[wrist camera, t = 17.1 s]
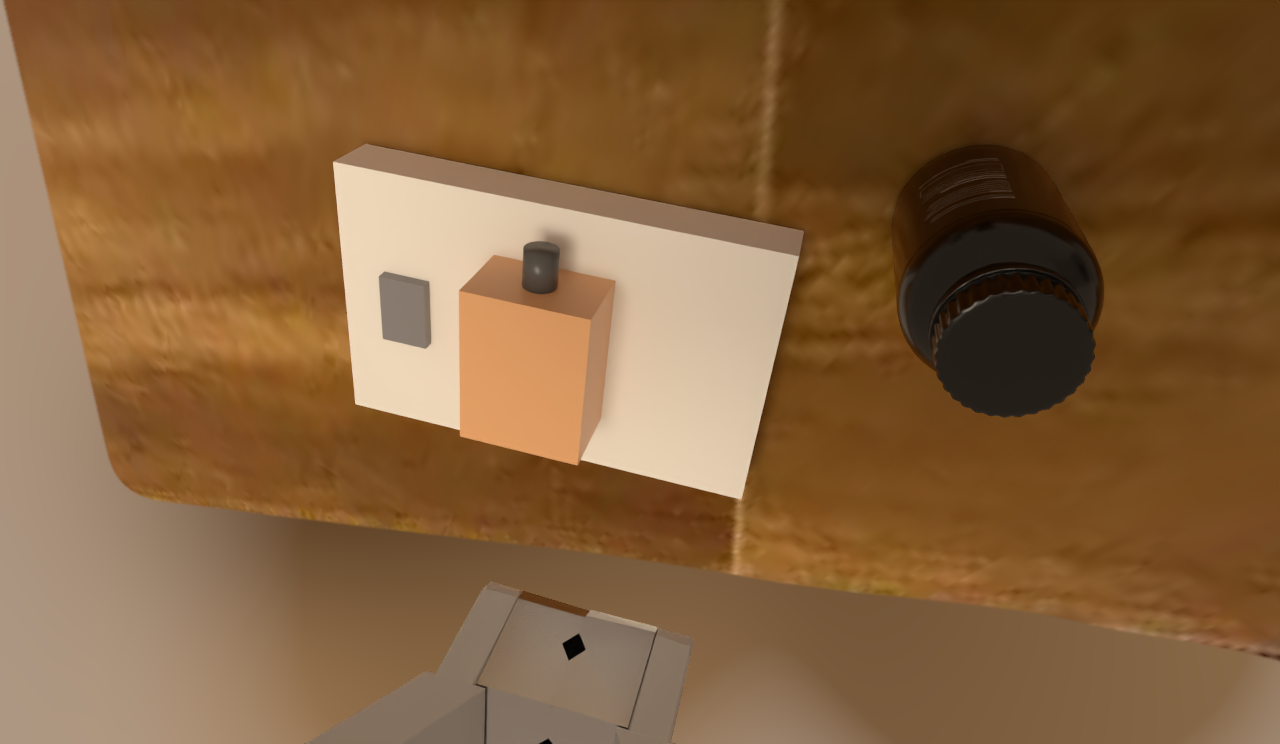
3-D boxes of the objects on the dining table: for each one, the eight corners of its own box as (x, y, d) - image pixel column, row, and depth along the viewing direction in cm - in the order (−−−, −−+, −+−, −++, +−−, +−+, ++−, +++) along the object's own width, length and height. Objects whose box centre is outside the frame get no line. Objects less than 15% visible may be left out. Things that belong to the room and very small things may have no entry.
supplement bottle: (872, 272, 38) (871, 414, 28) (919, 126, 35) (936, 232, 25) (1024, 305, 38) (1076, 465, 28) (1088, 160, 34) (1176, 283, 24)
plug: (633, 225, 40) (594, 282, 34) (613, 393, 45) (577, 465, 39) (514, 201, 40) (458, 252, 35) (509, 368, 46) (460, 436, 40)
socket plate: (804, 230, 38) (798, 262, 35) (748, 464, 46) (739, 506, 43) (365, 143, 41) (326, 165, 38) (381, 376, 49) (349, 410, 46)
